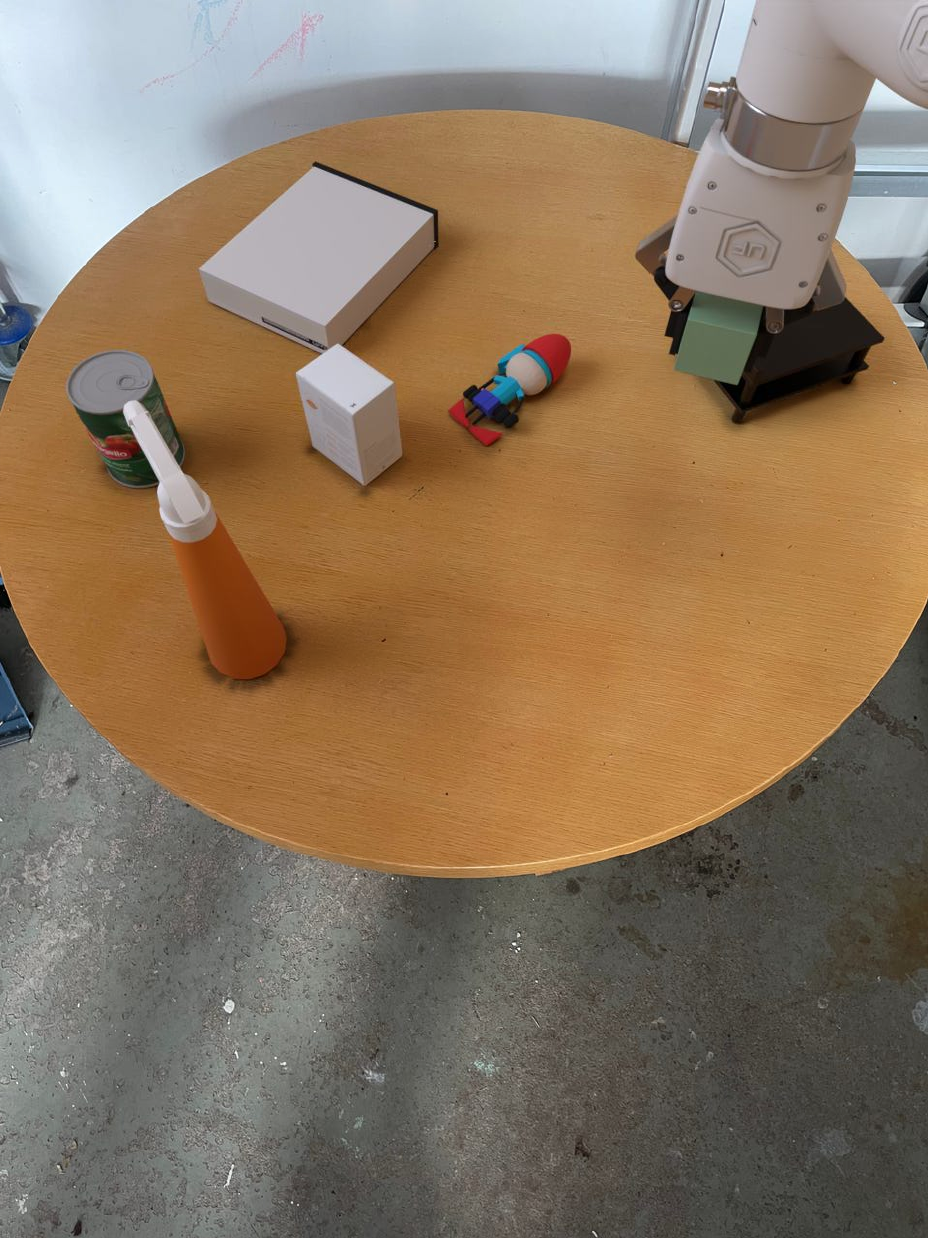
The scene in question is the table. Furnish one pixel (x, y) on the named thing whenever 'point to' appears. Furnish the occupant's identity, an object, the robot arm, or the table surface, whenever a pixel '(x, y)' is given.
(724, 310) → the cube
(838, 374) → the plate
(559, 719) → the table surface
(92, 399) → the canned tomato
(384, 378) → the small box
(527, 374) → the toy figure
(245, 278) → the disc drive
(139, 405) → the spray bottle
